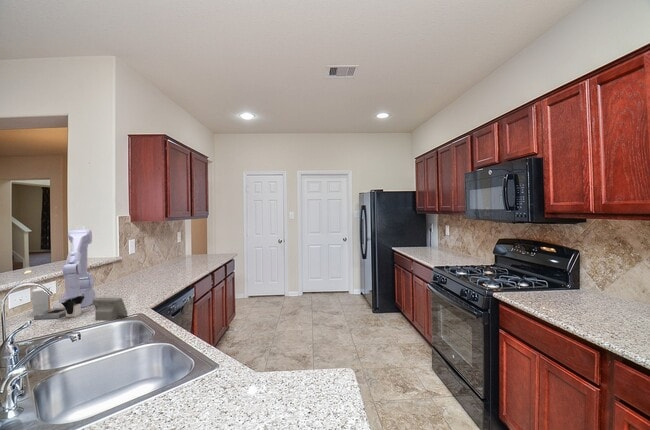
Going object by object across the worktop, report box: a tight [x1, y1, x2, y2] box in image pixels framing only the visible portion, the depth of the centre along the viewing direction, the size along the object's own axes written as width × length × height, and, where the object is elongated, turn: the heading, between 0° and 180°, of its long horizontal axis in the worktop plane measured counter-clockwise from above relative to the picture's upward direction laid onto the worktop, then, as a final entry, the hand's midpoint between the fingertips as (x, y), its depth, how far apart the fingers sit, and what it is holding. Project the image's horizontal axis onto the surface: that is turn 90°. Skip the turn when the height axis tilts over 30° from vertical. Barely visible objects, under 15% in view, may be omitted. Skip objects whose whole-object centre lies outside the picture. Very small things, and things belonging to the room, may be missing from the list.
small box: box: [31, 286, 51, 317], centre depth 159 cm, size 8×6×13 cm
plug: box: [65, 303, 82, 318], centre depth 154 cm, size 4×4×6 cm
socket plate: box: [33, 307, 66, 321], centre depth 155 cm, size 12×12×3 cm
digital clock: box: [92, 296, 129, 321], centre depth 149 cm, size 16×9×11 cm, turn 71°
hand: (73, 312), depth 154 cm, fingers closed on plug, 4 cm apart
